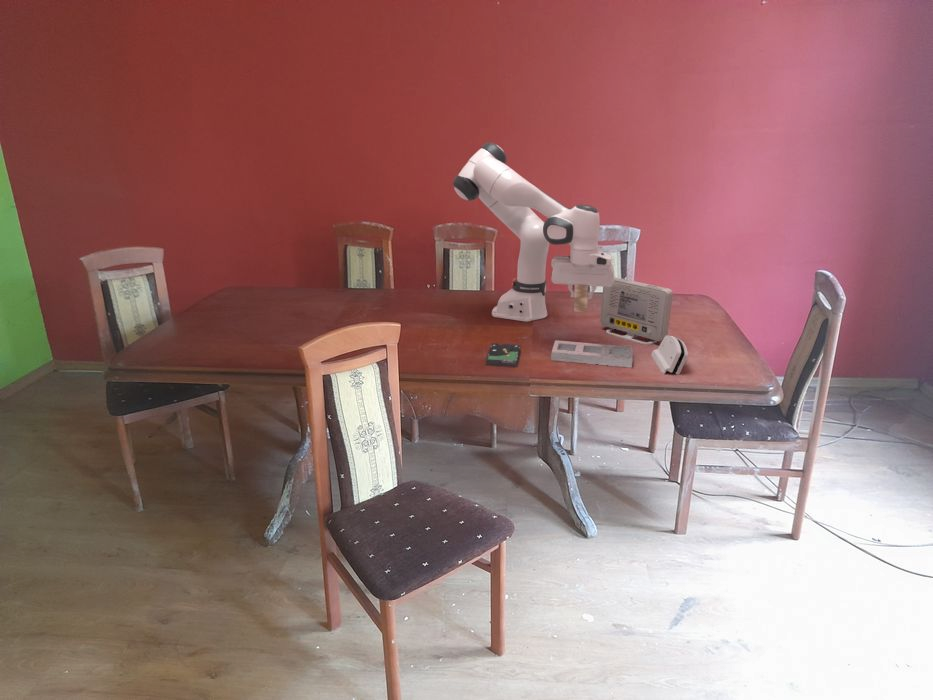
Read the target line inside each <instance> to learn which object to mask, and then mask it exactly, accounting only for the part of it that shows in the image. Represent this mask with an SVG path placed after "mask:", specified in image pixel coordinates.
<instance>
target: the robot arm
mask: <svg viewBox="0 0 933 700" xmlns="http://www.w3.org/2000/svg"><path fill="white" fill-rule="evenodd" d="M452 186H453V189H454V191H455V192H456V194H457V195H458V196H459V198H461V199H463V200H464V201H465V200H466V201H468V202H473V201H475V200H476V199H477V198H478V199H479V200H480V201H481V202H482V203H483V205H485V206H486V207H487V209H489V210H490V212H492V214H493V215H494V216H496V218H497V219H499V221H501V223H503V224H504V225H505V226H506V227H507V228H508V229H509V230H510V231H511V232H512V233H513V234H514V235H515V236H516V237H517V238H518V239H519V240H520V246H519V247H520V248H519V255H518V260H517V272H516V273H517V275H516V277H514V278H513V279H512V281H511V289H509V290H508V291H507V292H505V293H503V294H502V295H501V296H500V298H499V299H498V301H497V305H496V306H494V307H493V309H491V316H492V317H494V318H500V319H507V320H514V321H521V322H527V323H528V322H531V321H535V320H541V319H544V318H546V317H548V311H547V310H548V309H547V306H546V293H547V281H546V270H547V269H546V268H547V267H546V266H547V260H548V259H547V258H548V253H549V249H550V244H551V245H554V246H559V245H565V244H566V245H567V244H568V245H569V246H570V248H569V249H570V250H569V252H570V254H569V255H556V256H554V257H552V259H551V264H550V265H551V268H552V271H551V272H552V274H551V279H550V281H551V283H553V284H554V285H555V284H556V285H567V289H568V290H569V293H570V298H571V299H573V298H574V299H575V290H574V289H573V286H575V285H588V286H589V287H591V291H588V297H587V299H588V300H589V299H590V300H592V298H593V295H594V293H595V291H596V290H597V287H600V288H601V287H602V288H603V287H612V286H613V284H614V277H615V269H614V265H613V263H612V260H613V258H612V255H611V254H608V253H606V252H603V251H600V250H599V244H598V243H599V242H598V240H599V237H600V227H601V226H600V221H601V220H600V218H601V217H600V213H599V211H598V209H597V208H596V207H594V206H592V205H589V204H576V205H575V206H574V207H572V208H571V207H568V206H565V205H564V204H562V203H561V202H559V201H558V200H557V199H555V198H553V196H550V195H549V194H548V193H546V192H545V191H543V190H541V189H540V188H538V187H536V185H533V184H532V183H530V181H528V180H527V179H525V177H523V176H521V175H520V174H519V173H517V172H516V171H515V170H514V169H512V168H511V167H509V166H508V165H507V155H506V153H505V151H504V150H503V148H501V147H500V146H499V145H498V144H496V143H494V142H490V141H488V142H486V143H485V144H483V145H482V146H481V147H480V149H478V150H477V151H476V152H475V153H474V154H473V155H472V156H471V157H470V158H469V160H467V162H466V164H465V165H463V167H462V168H461V171H460V172H459V173H458V174H457V175H455V178H454V179H453V181H452ZM532 209H533V210H536V211H537V212H539V213H540V214H541V215H543V216H545V217H546V218H547V219H546V220H545V221H543V220H542V219H541V218H540V216H538V215H537V213H535V212H534V211H533V210H532Z"/></svg>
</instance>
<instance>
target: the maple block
mask: <svg viewBox="0 0 933 700" xmlns="http://www.w3.org/2000/svg"><path fill="white" fill-rule="evenodd" d="M574 288H575V289H574V291H575V298H574V303H573V304H574V309H573V311H574V312H580V313H583V312H585V313H586V312H587V311H588V307H589V306H588V305H589V299H587V297H588V292H589V288H590V286H588V285H574Z"/></svg>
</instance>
